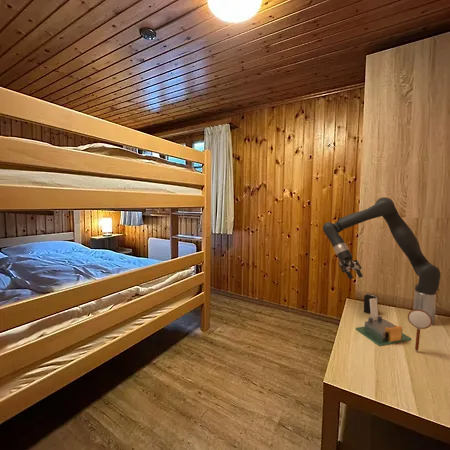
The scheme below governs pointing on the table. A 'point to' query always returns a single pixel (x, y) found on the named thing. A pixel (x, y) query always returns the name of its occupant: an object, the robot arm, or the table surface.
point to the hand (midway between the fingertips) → (356, 277)
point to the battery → (368, 302)
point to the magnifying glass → (419, 322)
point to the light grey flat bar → (374, 309)
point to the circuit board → (382, 332)
